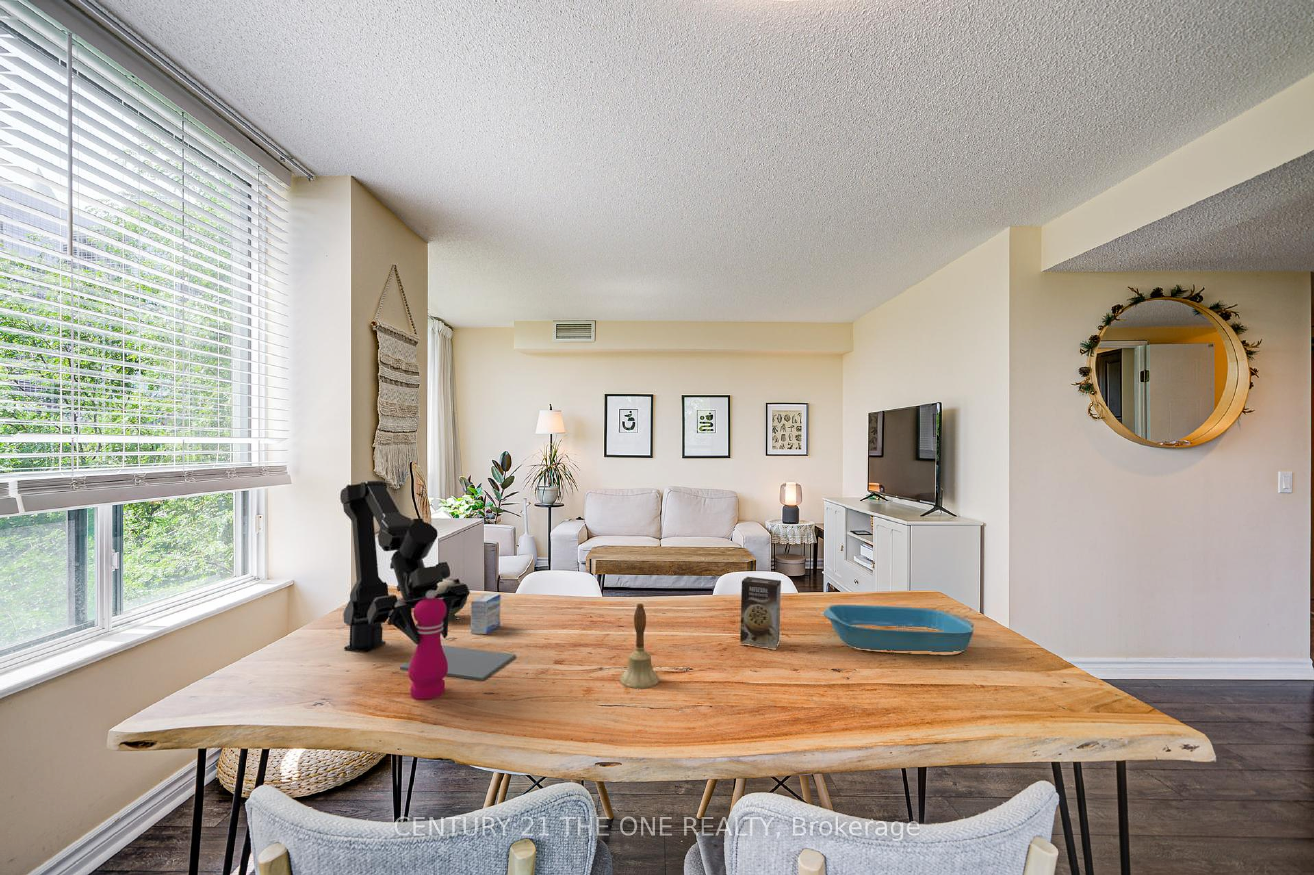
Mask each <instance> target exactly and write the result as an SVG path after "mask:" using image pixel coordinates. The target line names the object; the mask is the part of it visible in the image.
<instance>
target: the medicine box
mask: <svg viewBox="0 0 1314 875" xmlns="http://www.w3.org/2000/svg"><path fill="white" fill-rule="evenodd" d="M501 595H502V594H500V593H485V594H483V595H481V596H479V597H477V598H475V599H473V600H471V601H470V602H471V604H470V634H474V635H483V634H486V635H488V634H489V633H491V632H492V631H494V630H495V629H497V628H498V627H500V626H501ZM496 627H497V628H496ZM493 629H494V630H493ZM490 631H491V632H490ZM487 633H488V634H487Z"/></svg>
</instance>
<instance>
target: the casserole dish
mask: <svg viewBox="0 0 1314 875" xmlns="http://www.w3.org/2000/svg"><path fill="white" fill-rule="evenodd" d="M823 616H824V617H825V618H826V619H828V620H829V621H830V623H831V625H832V628H833V630H834V632H835V633H836V634H837V636H838V637H839V638H840V639H841V641H842V642H844V643H845V644H846V645H847V644H848V645H850V646H852V647H856V648H860V649H870V650H887V651H891V650H892V651H932V652H953V651H962V650H965V651H966V650H967V648H968V646H969V644H970V643H971V642H970V641H971V639H972V637H973V634H974V631H975V630H974V628H973V627H974V626H975V625H974V623H973V622H972V621H969V620H968V619H966V618H963V617H961V616H959V615H953V614H951V613H948V612H946V611H943V610H942V611H941V610H939V609H933V608H925V607H923V608H922V607H910V606H907V607H905V606H890V605H888V606H886V605H869V604H868V605H867V604H866V605H864V604H832V605H829V606H828V607H827V609H825V610H824V611H823ZM852 625H876V626H898V627H902V626H903V627H904V626H905V627H927V628H932V629H938V630H940V631H944V632H929V631H906V630H884V629H871V628H863V627H856V626H852ZM848 645H847V646H848ZM850 646H849V647H850Z"/></svg>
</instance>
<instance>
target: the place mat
mask: <svg viewBox="0 0 1314 875" xmlns="http://www.w3.org/2000/svg"><path fill="white" fill-rule="evenodd" d="M441 645H442V649H443V652H444V654H445V656H446V658H447V662H448V672H447V674H446V675H445V677H451V678H458V679H459V678H460V679H464V680H465V679H466V680H473V681H481V682H482V681H484V680H485V679H487V678H488V677H490V676H491V675H493V674H494V673H495V672H496V671H498V670H499V669H501V668H502V667H504V666H505V665H506V664H508V663H509V662H511V661H512V660H513V659H515V658H516V655H517V654H516V653H508V652H500V651H493V650H492V651H491V650H484V649H474V648H469V647H468V648H467V647H461V646H460V647H459V646H451V645H444V644H441ZM410 662H411V660H410V661H408V662H405V663H404V664H402V665H400V666H399V671H400V670H401V671H406V672H407V671H409V666H410Z"/></svg>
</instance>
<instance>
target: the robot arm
mask: <svg viewBox="0 0 1314 875" xmlns="http://www.w3.org/2000/svg"><path fill="white" fill-rule="evenodd" d="M387 486H388V485H387V482H386V481H383V480H365V481H364V482H360V483H356V484H347V485H346V486H345V487H344V488H342V489H341V490H340V496H339V497H340V503H341V504H342V506H343V513H345V515H346V516H347V517H348V518H349V520H350V521H351V522H352V536H353V550H354V551H353V552H354V563H355V576H356V582H355V584H354V586H353V587H352V589H351V591H350V593H349V600H348V603H347V605H346V607H345V609H344V611H343V613H342V614H343V616H342V617H343V623H344V624H346V625H348V626H349V644H348V645H346V646H344V648H343V649H344V650H345V651H352V652H353V651H355V652H362V653H368V652H370V651H372V650H375V649H377V648H379V647H381V646H383V645H385V644H386V643H387V642H386V640H383V629H384V628H383V626H382V624H383V623H384V624H385V623H386V622H387V625H388V626H393V627H395V628H397V629H398V630H399V631H401V632H402V633H403V634H405V635H406V637H408V638H409V639H410V640H411V641H412V642H413V643H414V644H415V645H418V644H419V643H420V638H419V634H418V631H417V627H416V623H415V621H414V620H415V619H414V616H413V614H412V609H413V610H414V608H415V606H416V604H417V603H418V602H419V601H421V600H422V599H425V598H427V597H426V593H427V591H429V590H433V591H436V590H437V588H438V585H437V584H438V583H439V582H443V579H449V577H450V576H451V569H450V566H449V564H448V562H447V561H443V562H438V563H437V564H435V566H434V565H433V566H427V567H426V566H425V564H424V561H423V559H425V558H426V557H427V556H428V555H429V552H431V550H432V547H433V545H434V544H435V541H436V539H437V538H438V534H439V533H438V530H437V528H435V526H433V525H432V524H430V523H429V522H425V521H424V520H423V518H422V517H420V518H418V517H417V518H412V519H411V518H410V517H408V516H406V515H403V514H402V513H401V512H400V510H399V509H398V506H397V505H396V503H395V501H394V499H393V498H392V496H391V494H390V492H389V491H388V487H387ZM374 518H375V520H374ZM375 521H376V522H377V524H378V526H379V531H378V534H377V542H378V545H379V547H381V549H382V550H383V551H384V552H392V551H395V552H393V553H392V556H391V558H390V560H391V562H390V564H389V565H390V567H389V568H390V569H391V570H394V574H395V578H396V581H397V586H396V591H397V592H400V594H401V598H398V596H397V595H396V594H389V585H388V582H386V581H383V580H382V579H381V578H380V577H379V568H378V567H379V566H378V565H379V564H378V555H377V542H376V533H375V531H376V530H375ZM460 583H461V584H455V585H449V586H447V588H446V590H445V591H444V593H441V594H435V598H439V599H441V600H442V601H444V603H445V605H446V615H445V617H444V618H443V619H442V622H443V630H442V631H441V636H442V637H443V639H447V637H448V635H449V634H448V632H449V630H448V629H449V621H448V616H449V611H450V610H451V609H456V608H459V607H461V606H462V605H463V603H464V602H465V600H466V598H467V599H468V597H469V595H470V594H471V592H470V589H469V586H468V585H467V584H466V583H464V582H460Z"/></svg>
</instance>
